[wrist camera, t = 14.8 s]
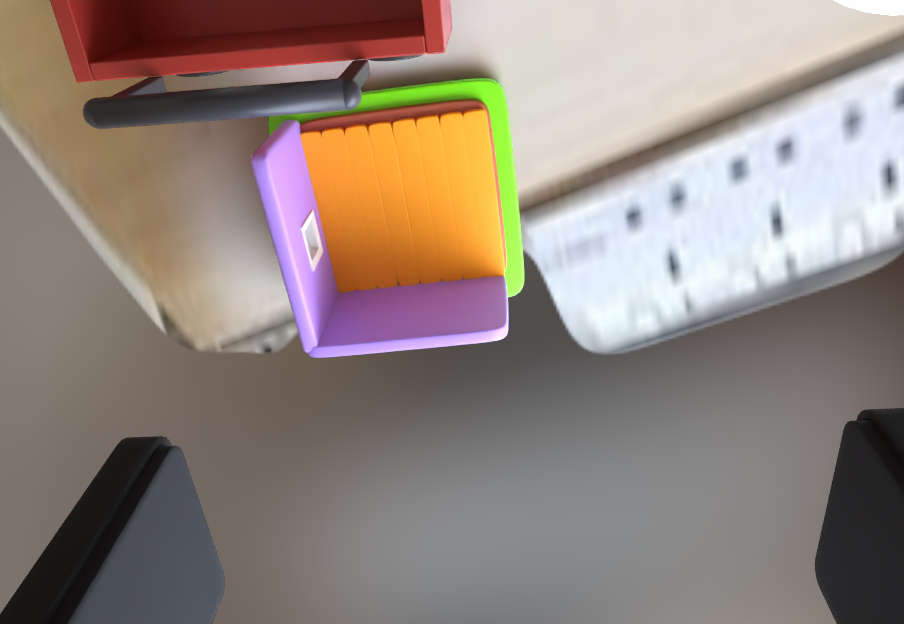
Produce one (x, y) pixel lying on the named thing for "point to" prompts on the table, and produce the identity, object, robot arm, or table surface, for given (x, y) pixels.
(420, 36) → the cart
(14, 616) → the robot arm
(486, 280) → the miniature room corner
